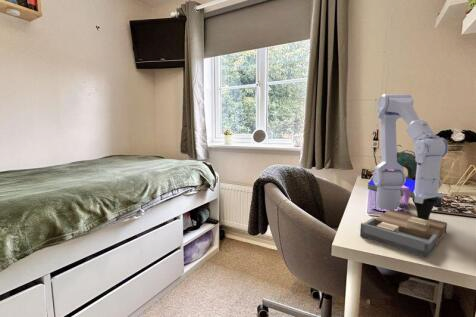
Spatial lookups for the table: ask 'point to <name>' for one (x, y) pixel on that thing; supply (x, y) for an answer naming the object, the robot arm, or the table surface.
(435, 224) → the walnut board
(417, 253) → the slate bin
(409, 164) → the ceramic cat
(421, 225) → the tile
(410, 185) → the roof
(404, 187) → the toy chair
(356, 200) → the table surface
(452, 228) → the table surface
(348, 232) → the table surface
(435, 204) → the grey and teal figurine
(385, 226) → the tile
